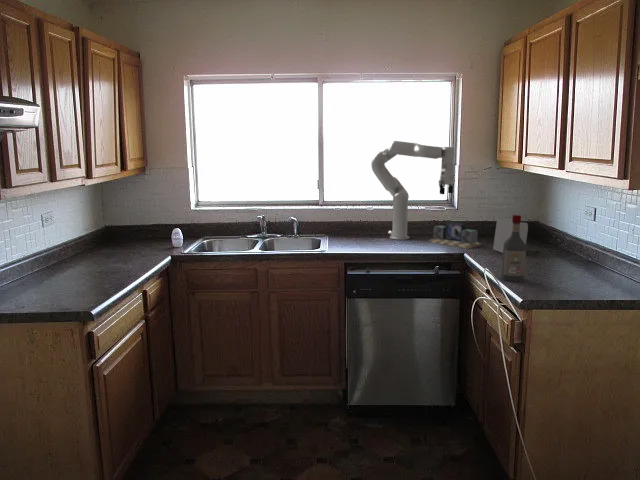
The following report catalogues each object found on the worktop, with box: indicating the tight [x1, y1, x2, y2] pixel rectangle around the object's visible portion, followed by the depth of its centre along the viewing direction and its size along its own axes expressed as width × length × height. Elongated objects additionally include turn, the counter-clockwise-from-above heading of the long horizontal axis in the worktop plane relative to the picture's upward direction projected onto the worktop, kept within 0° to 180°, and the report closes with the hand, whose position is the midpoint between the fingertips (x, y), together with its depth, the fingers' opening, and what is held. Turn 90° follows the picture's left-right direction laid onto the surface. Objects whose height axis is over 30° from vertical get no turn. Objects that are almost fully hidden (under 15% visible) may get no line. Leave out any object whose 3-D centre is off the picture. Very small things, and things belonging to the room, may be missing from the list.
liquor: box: [501, 214, 527, 282], centre depth 252 cm, size 9×9×30 cm
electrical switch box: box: [492, 218, 529, 254], centre depth 318 cm, size 15×15×20 cm
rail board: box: [429, 225, 481, 249], centre depth 341 cm, size 28×14×10 cm, turn 45°
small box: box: [445, 221, 466, 241], centre depth 341 cm, size 11×6×10 cm, turn 56°
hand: (446, 193), depth 350 cm, fingers open, 9 cm apart
